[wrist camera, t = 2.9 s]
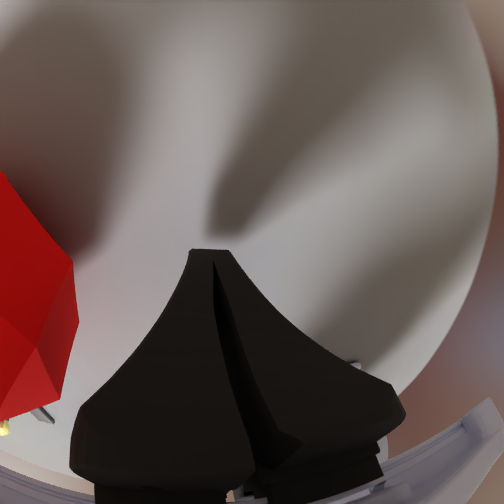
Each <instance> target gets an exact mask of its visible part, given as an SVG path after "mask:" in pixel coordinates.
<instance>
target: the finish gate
mask: <svg viewBox="0 0 504 504" xmlns="http://www.w3.org/2000/svg"><path fill="white" fill-rule="evenodd" d="M30 412H31V413H32V414H33V415H34V416H35V417H36V418H37V419H38V420H39V421H42V422H46V423H50V424H54V423H55V421H54V420H53V419H52V418H51V417H50V416H49V415H48V414H47V413H46V412H45V411H44V410H43V409H42V407H39V408H37V409H34V410H31V411H30ZM6 421H9V419H6ZM3 424H4V420H3V421H1V422H0V428H3Z"/></svg>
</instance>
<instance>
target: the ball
mask: <svg viewBox="0 0 504 504" xmlns="http://www.w3.org/2000/svg"><path fill="white" fill-rule="evenodd" d="M78 324H79V317H78V310H77V302H76V293H75V284H74V272H73V261H72V260H71V259H70V258H69V257H68V256H67V254H66V253H65V252H64V251H63V250H62V249H61V248H60V247H59V245H58V244H57V243H56V242H55V241H54V240H53V238H52V237H51V236H50V235H49V234H48V233H47V231H46V230H45V229H44V228H43V226H42V225H41V224H40V223H39V222H38V220H37V219H36V218H35V216H34V215H33V214H32V213H31V211H30V210H29V209H28V207H27V206H26V205H25V203H24V202H23V201H22V199H21V198H20V197H19V195H18V194H17V192H16V191H15V190H14V188H13V187H12V185H11V184H10V182H9V181H8V179H7V178H6V176H5V175H4V173H3V172H0V422H1V421H3V420H6V419H9V418H12V417H15V416H18V415H20V414H23V413H26V412H29V411H31V410H34V409H37V408H39V407H42V406H44V405H47V404H50V403H52V402H55V401H57V400H60V397H61V392H62V387H63V382H64V377H65V373H66V369H67V364H68V360H69V356H70V353H71V349H72V345H73V341H74V338H75V334H76V331H77V328H78Z"/></svg>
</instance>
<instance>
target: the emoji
mask: <svg viewBox="0 0 504 504" xmlns="http://www.w3.org/2000/svg"><path fill="white" fill-rule="evenodd" d="M9 432H10V428H9V424H8V422H7V421H6V420H4V424H3V428H0V435H1V436H4V435H8V433H9Z"/></svg>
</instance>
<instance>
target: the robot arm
mask: <svg viewBox="0 0 504 504" xmlns="http://www.w3.org/2000/svg"><path fill="white" fill-rule="evenodd" d="M360 369H361V364H360V363H359V362H356V363H351V364H349V363H347V362H345V361H344V360H342V359H340V358H338V357H337V356H335V355H334V354H332V353H331V352H329V351H327V350H326V349H324V348H323V347H322V346H320V345H319V344H317V343H316V342H315V341H313V340H312V339H311V338H309V337H308V336H306V335H305V334H304V333H303V332H301V331H300V330H299V329H298V328H297V327H295V326H294V325H293V324H292V323H291V322H290V321H289V320H287V319H286V318H285V317H284V316H283V315H282V314H281V313H280V312H279V311H278V310H277V309H276V308H275V307H274V306H273V305H272V304H271V303H270V302H269V301H268V300H267V299H266V298H265V296H264V295H263V294H262V293H261V292H260V291H259V290H258V288H257V287H256V286H255V285H254V283H253V282H252V281H251V280H250V279H249V277H248V276H247V275H246V273H245V272H244V271H243V269H242V268H241V267H240V265H239V264H238V262H237V261H236V259H235V258H234V257H233V255H232V254H231V252H230V251H229V250H214V249H191V250H190V251H189V255H188V260H187V263H186V266H185V269H184V271H183V274H182V276H181V278H180V280H179V282H178V285H177V287H176V289H175V291H174V293H173V294H172V296H171V298H170V300H169V302H168V303H167V305H166V307H165V309H164V310H163V312H162V314H161V315H160V317H159V318H158V320H157V321H156V323H155V324H154V326H153V327H152V329H151V330H150V331H149V333H148V334H147V335H146V337H145V338H144V339H143V341H142V342H141V343H140V345H139V346H138V347H137V349H136V350H135V351H134V352H133V353H132V355H131V356H130V357H129V358H128V359H127V360H126V361H125V362H124V364H123V365H122V366H121V367H120V368H119V369H118V370H117V371H116V373H115V374H114V375H113V376H112V377H111V378H110V379H109V380H108V381H107V382H106V383H105V384H104V385H103V386H102V387H101V388H100V389H99V390H98V391H97V392H95V393H94V394H93V395H92V396H91V397H90V398H89V399H88V400H87V401H86V402H85V403H84V404H83V405H82V406H81V407H80V409H79V411H78V414H77V417H76V420H75V423H74V427H73V431H72V435H71V443H70V461H69V467H70V469H71V470H72V471H73V472H74V473H75V474H77V475H78V476H80V477H82V478H84V479H86V480H88V481H90V482H92V483H94V493H95V496H93V495H89V494H84V493H80V492H76V491H72V490H68V489H64V488H61V487H57V486H54V485H50V484H47V483H44V482H41V481H38V480H35V479H33V478H30V477H27V476H25V475H22V474H19V473H17V472H15V471H12V470H9V469H8V468H5V467H3V466H1V465H0V504H466V502H467V501H468V500H469V499H470V497H471V496H472V495H473V493H474V492H475V491H476V489H477V488H478V486H479V485H480V484H481V482H482V481H483V479H484V478H485V476H486V475H487V473H488V472H489V470H490V468H491V467H492V466H493V464H494V463H495V461H496V460H497V459H498V458H499V456H500V455H501V454H502V453H503V451H504V422H503V420H502V418H501V416H500V415H499V413H498V411H497V409H496V407H495V405H494V404H493V402H492V400H491V398H490V397H488V398H487V399H485V400H484V401H483V402H481V403H480V404H479V405H477V406H476V407H475V408H473V409H472V410H471V411H470V412H468V413H467V414H466V415H465V416H463V417H462V419H461V420H459V421H458V422H456V423H455V424H453V425H452V426H450V427H448V428H447V429H445V430H444V431H442V432H440V433H439V434H437V435H436V436H434V437H432V438H430V439H428V440H427V441H425V442H423V443H421V444H419V445H418V446H416V447H414V448H412V449H410V450H408V451H406V452H404V453H402V454H400V455H398V456H396V457H394V458H391V459H389V460H387V459H388V443H387V438H386V434H388V433H390V432H391V431H392V430H394V429H395V428H396V427H397V426H398V425H400V424H401V423H402V421H403V420H404V419H405V416H406V412H405V410H404V408H403V406H402V404H401V402H400V400H399V398H398V396H397V394H396V392H395V390H394V389H393V387H392V385H391V384H389V383H387V382H385V381H383V380H380V379H378V378H376V377H374V376H372V375H370V374H368V373H366V372H363V371H361V370H360ZM230 490H233V494H234V499H235V501H236V502H226V499H225V498H227V495H226V494H227V493H228V492H229V491H230ZM244 500H245V501H244Z"/></svg>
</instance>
